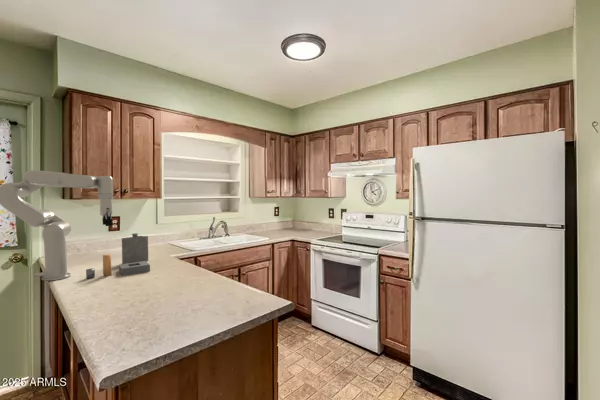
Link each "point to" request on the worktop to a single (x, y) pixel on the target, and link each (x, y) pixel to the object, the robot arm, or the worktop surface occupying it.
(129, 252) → the hip flask
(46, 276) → the robot arm
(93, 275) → the short pin
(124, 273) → the hole block
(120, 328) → the worktop surface
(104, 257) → the long pin
